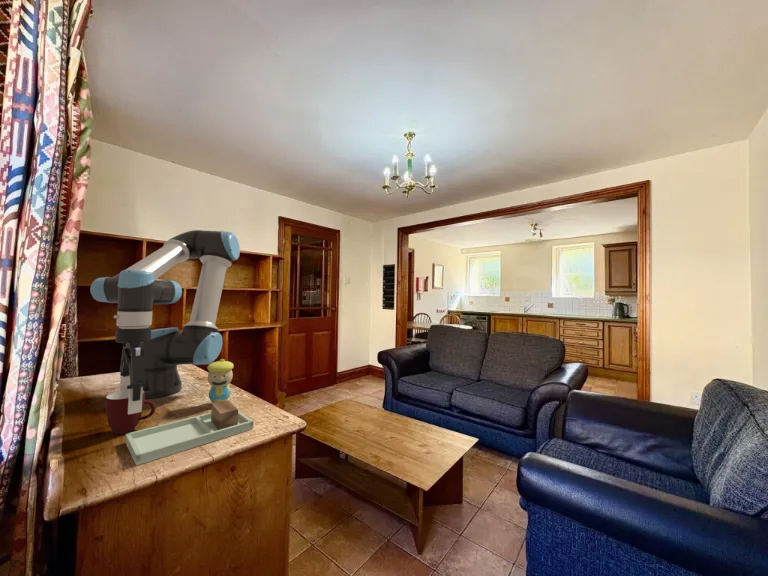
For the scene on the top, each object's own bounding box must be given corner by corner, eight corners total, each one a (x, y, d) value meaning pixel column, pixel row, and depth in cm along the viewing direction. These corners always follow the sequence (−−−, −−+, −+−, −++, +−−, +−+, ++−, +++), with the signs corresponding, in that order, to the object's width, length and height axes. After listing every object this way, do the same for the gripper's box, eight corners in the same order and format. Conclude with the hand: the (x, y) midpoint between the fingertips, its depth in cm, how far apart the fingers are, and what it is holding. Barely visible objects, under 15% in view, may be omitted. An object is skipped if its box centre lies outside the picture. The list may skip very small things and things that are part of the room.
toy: (204, 410, 98) (205, 363, 98) (207, 400, 107) (209, 357, 107) (231, 407, 102) (233, 361, 102) (232, 398, 110) (234, 356, 110)
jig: (125, 442, 77) (125, 433, 77) (233, 414, 96) (233, 407, 96) (136, 465, 68) (136, 455, 68) (253, 428, 87) (253, 421, 87)
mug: (153, 420, 90) (154, 386, 90) (155, 430, 84) (157, 393, 84) (104, 429, 83) (106, 392, 83) (103, 441, 77) (104, 401, 77)
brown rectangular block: (219, 432, 83) (220, 413, 83) (211, 420, 89) (211, 403, 89) (237, 427, 86) (238, 409, 86) (227, 416, 92) (228, 400, 92)
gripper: (109, 323, 90) (105, 397, 89) (123, 332, 73) (118, 423, 72) (142, 322, 95) (138, 391, 95) (162, 330, 78) (157, 415, 78)
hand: (129, 405), depth 83 cm, fingers open, 13 cm apart
